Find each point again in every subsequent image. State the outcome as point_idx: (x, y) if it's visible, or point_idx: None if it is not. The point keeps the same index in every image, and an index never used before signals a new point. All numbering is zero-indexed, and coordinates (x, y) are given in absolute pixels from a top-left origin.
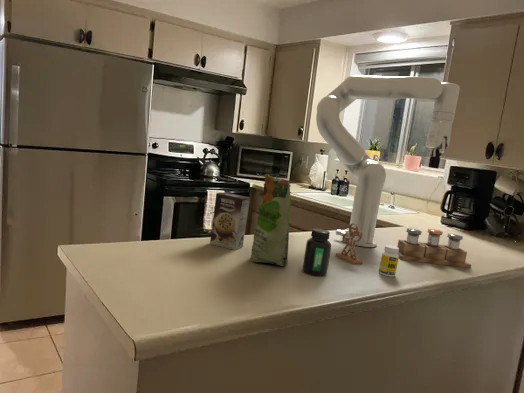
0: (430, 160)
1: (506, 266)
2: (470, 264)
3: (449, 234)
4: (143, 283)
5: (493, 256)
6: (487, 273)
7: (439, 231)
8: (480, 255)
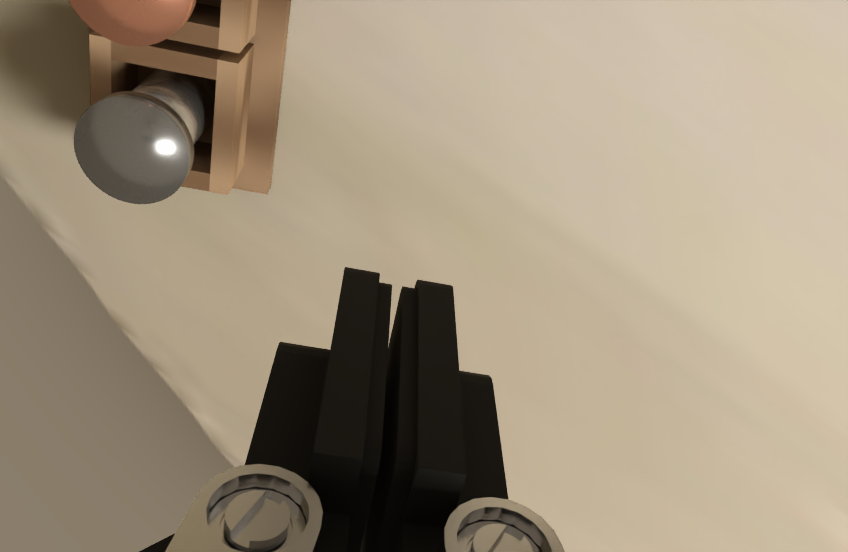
0: (412, 386)
1: (236, 420)
2: None
3: (136, 109)
4: None
5: None
6: (25, 195)
7: (103, 6)
8: None
